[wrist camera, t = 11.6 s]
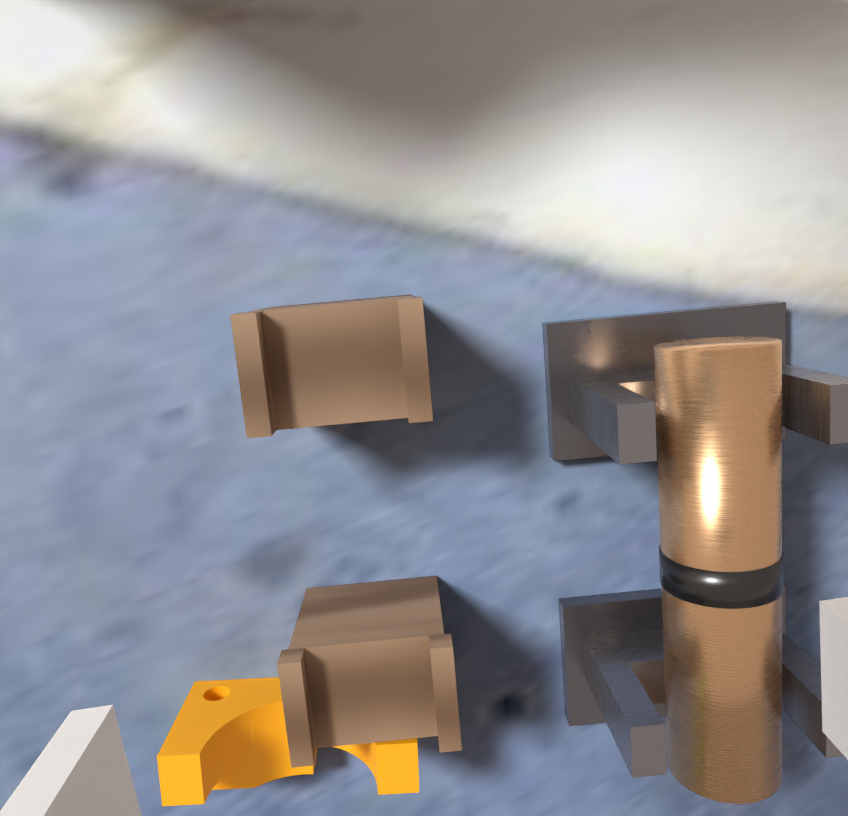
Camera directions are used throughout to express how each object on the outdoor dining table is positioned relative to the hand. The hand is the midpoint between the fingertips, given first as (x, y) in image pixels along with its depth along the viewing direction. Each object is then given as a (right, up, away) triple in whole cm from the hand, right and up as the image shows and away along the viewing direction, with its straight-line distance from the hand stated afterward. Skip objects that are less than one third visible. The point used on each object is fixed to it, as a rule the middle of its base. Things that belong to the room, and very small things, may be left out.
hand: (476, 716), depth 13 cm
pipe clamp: (-7, -11, +27) cm, 30 cm away
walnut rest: (-4, +1, +25) cm, 25 cm away
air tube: (+12, -1, +19) cm, 23 cm away
